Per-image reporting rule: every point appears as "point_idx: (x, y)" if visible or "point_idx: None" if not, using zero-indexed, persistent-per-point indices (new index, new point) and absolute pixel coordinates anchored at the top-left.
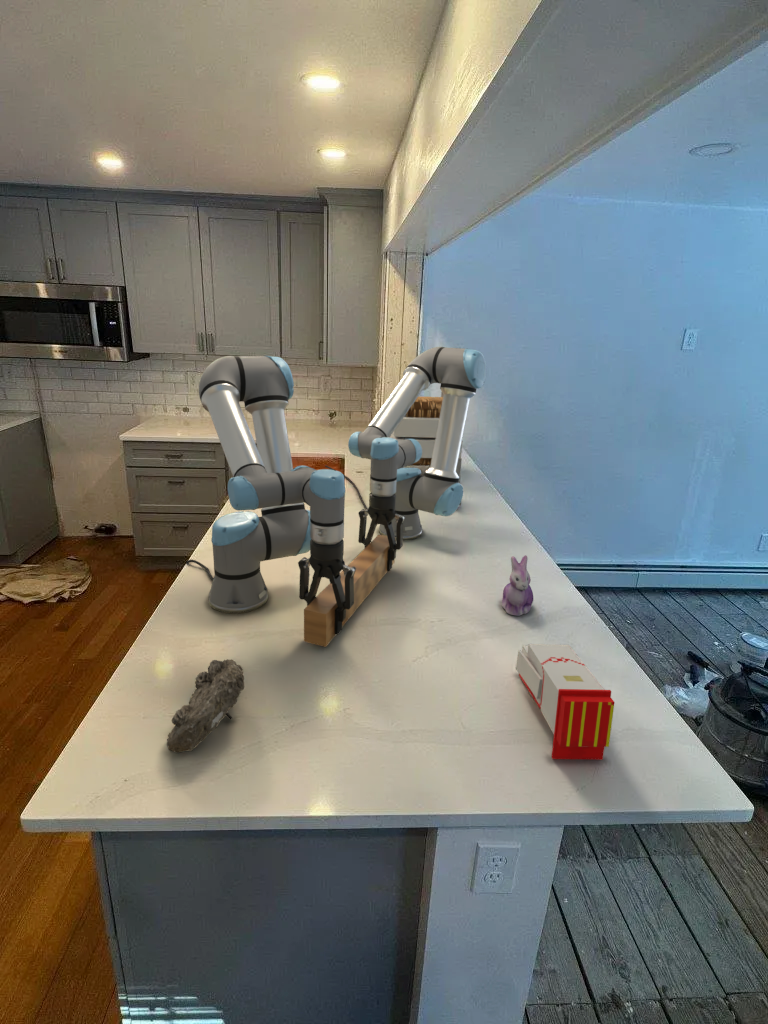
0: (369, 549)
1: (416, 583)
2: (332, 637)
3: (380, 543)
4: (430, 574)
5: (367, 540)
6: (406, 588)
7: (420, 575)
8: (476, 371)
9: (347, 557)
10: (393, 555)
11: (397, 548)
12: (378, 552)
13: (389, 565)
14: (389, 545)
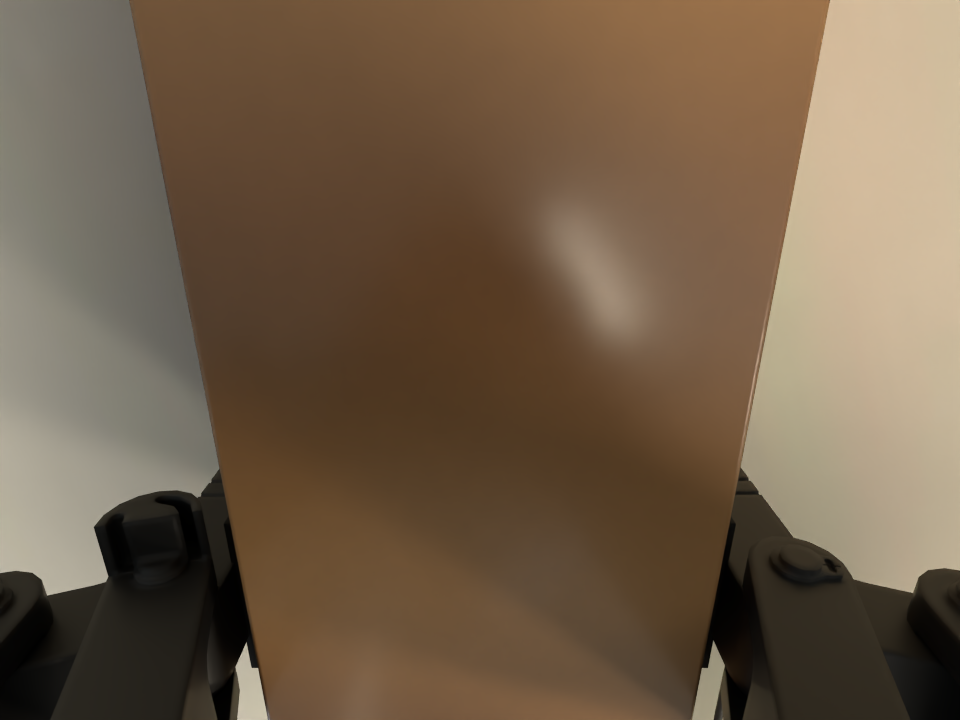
0: (621, 206)
1: (47, 328)
2: None
3: (469, 658)
4: (41, 546)
5: (816, 647)
6: (71, 170)
7: (107, 497)
8: None
9: (882, 567)
10: (214, 496)
11: (7, 587)
12: (264, 97)
13: None
14: (266, 662)
